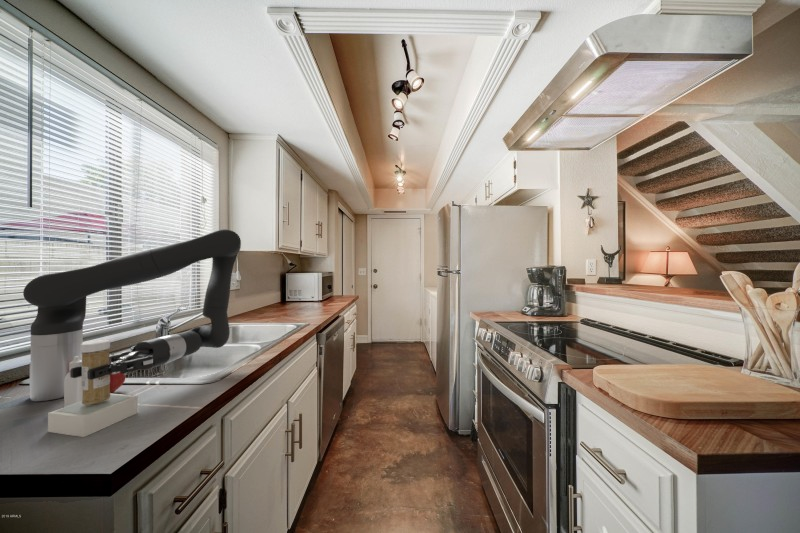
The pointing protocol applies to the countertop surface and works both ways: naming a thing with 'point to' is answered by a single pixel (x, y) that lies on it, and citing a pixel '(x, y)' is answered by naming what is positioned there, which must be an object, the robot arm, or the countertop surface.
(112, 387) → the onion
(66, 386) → the eye dropper bottle
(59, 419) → the block
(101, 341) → the sprinkles bottle
